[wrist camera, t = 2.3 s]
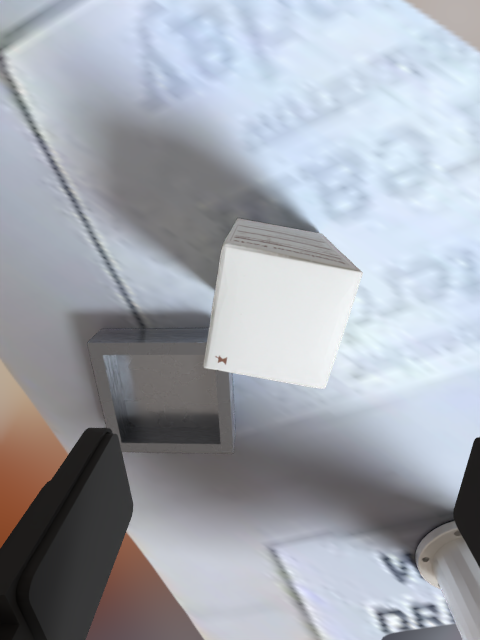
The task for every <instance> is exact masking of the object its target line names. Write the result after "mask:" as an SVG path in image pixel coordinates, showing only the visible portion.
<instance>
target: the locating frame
mask: <svg viewBox="0 0 480 640" xmlns="http://www.w3.org/2000/svg"><path fill="white" fill-rule="evenodd" d="M208 333H209V328H154V329H101V330H100V331H99V332H98V333H97V334H96V335H95V336H94V337H93V338H92V339H91V340H90V341H88V342H87V346H88V350H89V354H90V359H91V363H92V367H93V372H94V376H95V380H96V384H97V389H98V393H99V397H100V402H101V406H102V410H103V415H104V419H105V423H106V427H107V428H110V429H111V430H112V433H113V434H117V435H118V438H119V442H120V447H121V451H122V452H152V453H213V454H233V452H234V442H235V414H234V394H233V375H232V373H230V372H225V371H220V370H213V369H207V368H204V366H203V364H204V358H205V352H206V345H207V339H208Z"/></svg>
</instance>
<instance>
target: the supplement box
mask: <svg viewBox="0 0 480 640" xmlns="http://www.w3.org/2000/svg"><path fill="white" fill-rule="evenodd" d="M362 274H363V273H362V272H361V271H360V270H359V269H358V268H357V267H356V266H355V265H354V264H353V263H352V262H351V261H350V260H349V259H348V258H347V257H346V256H344V255H343V254H342V253H341V252H340V251H339V250H338V249H337V248H336V247H335V246H334V245H333V244H332V243H331V242H330V241H329V240H328V239H327V238H326V237H325V236H324V235H323V234H321V233H315V232H310V231H304V230H299V229H294V228H288V227H283V226H278V225H272V224H267V223H262V222H256V221H251V220H246V219H240V218H237V219H236V221H235V224H234V225H233V227H232V229H231V230H230V232H229V234H228V235H227V237H226V239H225V241H224V243H223V245H222V248H221V255H220V261H219V268H218V274H217V281H216V287H215V294H214V300H213V306H212V311H211V318H210V326H209V333H208V339H207V345H206V352H205V358H204V364H203V366H204V368H207V369H213V370H220V371H225V372H230V373H235V374H241V375H247V376H252V377H257V378H263V379H269V380H274V381H280V382H285V383H291V384H296V385H302V386H307V387H313V388H320V389H324V388H325V387H326V385H327V382H328V379H329V376H330V373H331V370H332V367H333V364H334V361H335V358H336V355H337V352H338V349H339V346H340V343H341V339H342V336H343V333H344V330H345V327H346V324H347V321H348V318H349V315H350V312H351V309H352V305H353V302H354V299H355V296H356V293H357V290H358V287H359V283H360V280H361V277H362Z"/></svg>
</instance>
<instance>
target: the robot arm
mask: <svg viewBox="0 0 480 640" xmlns="http://www.w3.org/2000/svg"><path fill="white" fill-rule="evenodd" d="M132 512H133V501H132V496H131V492H130V487H129V483H128V478H127V474H126V469H125V465H124V460H123V456H122V451H121V447H120V442H119V438H118V435H117V434H113V433H112V430H111V429H110V428H88V429H86V430H85V431H84V433H83V434H82V436H81V437H80V439H79V440H78V442H77V443H76V444H75V446H74V447H73V449H72V450H71V452H70V453H69V455H68V456H67V458H66V459H65V461H64V462H63V464H62V465H61V466H60V468H59V469H58V471H57V472H56V474H55V475H54V477H53V478H52V480H51V481H49V482H47V484H45V486H44V487H43V488H42V489H41V491H40V492H39V494H38V495H37V497H36V498H35V499H34V501H33V502H32V504H31V505H30V507H29V508H28V510H27V511H26V512H25V514H24V515H23V517H22V518H21V520H20V521H19V523H18V524H17V526H16V527H15V528H14V530H13V531H12V533H11V534H10V536H9V537H8V539H7V540H6V541H5V543H4V544H3V546H2V547H1V548H0V640H85V639H86V637H87V634H88V631H89V629H90V626H91V623H92V621H93V618H94V615H95V613H96V610H97V607H98V605H99V602H100V599H101V597H102V594H103V591H104V589H105V586H106V584H107V581H108V578H109V575H110V573H111V570H112V568H113V565H114V562H115V559H116V557H117V554H118V551H119V549H120V546H121V544H122V541H123V538H124V535H125V533H126V530H127V528H128V525H129V522H130V520H131V517H132ZM453 513H454V520H455V521H452V522H449V523H446V524H443V525H442V526H440V527H438V528H436V529H434V530H433V531H431V532H430V533H429V534H427V535H426V536H425V537H424V538H423V539H422V541H421V542H420V544H419V545H418V547H417V550H416V553H415V561H416V564H417V567H418V569H419V572H420V574H421V576H422V577H423V578H424V579H425V580H426V581H427V582H428V583H430V584H431V585H433V586H435V587H437V588H439V589H441V591H442V593H443V595H444V597H445V600H446V602H447V604H448V607H449V609H450V611H451V614H452V616H453V618H454V621H455V623H456V625H457V628H458V630H459V632H460V635H461V637H462V639H463V640H480V438H476V439H475V440H474V443H473V446H472V450H471V453H470V457H469V460H468V463H467V467H466V470H465V474H464V477H463V480H462V484H461V487H460V491H459V494H458V497H457V501H456V504H455V508H454V512H453Z"/></svg>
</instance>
